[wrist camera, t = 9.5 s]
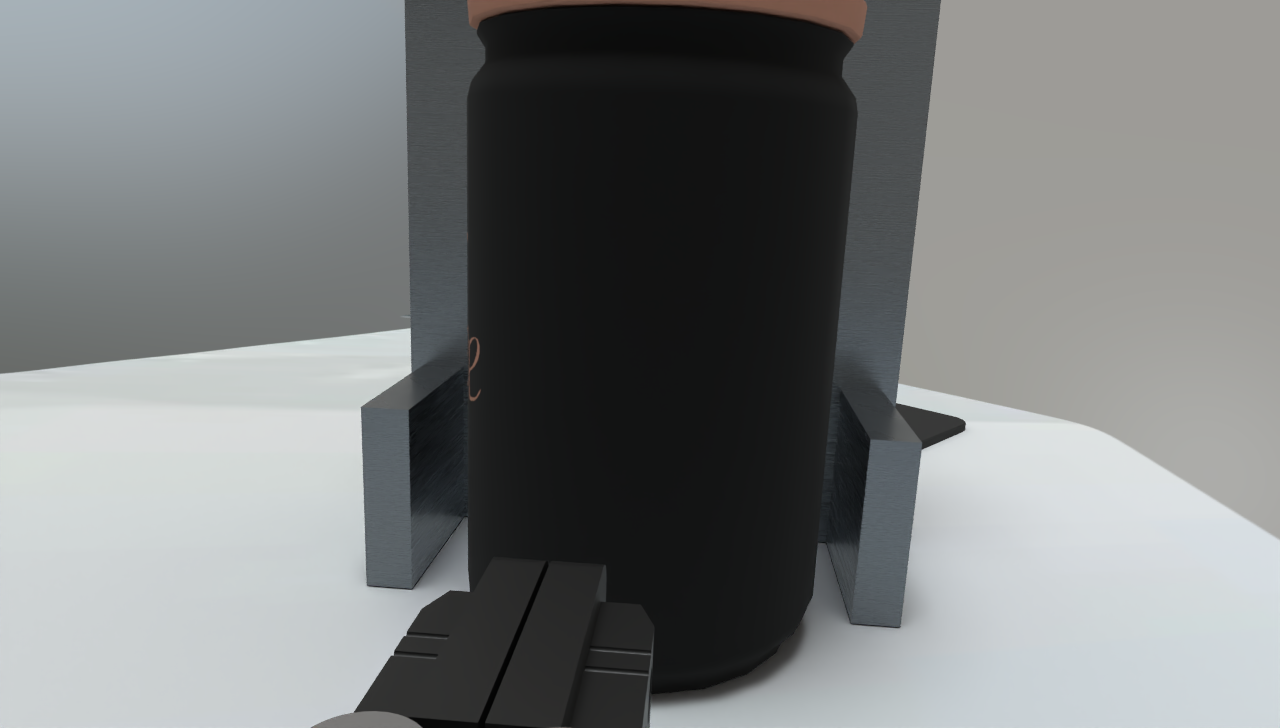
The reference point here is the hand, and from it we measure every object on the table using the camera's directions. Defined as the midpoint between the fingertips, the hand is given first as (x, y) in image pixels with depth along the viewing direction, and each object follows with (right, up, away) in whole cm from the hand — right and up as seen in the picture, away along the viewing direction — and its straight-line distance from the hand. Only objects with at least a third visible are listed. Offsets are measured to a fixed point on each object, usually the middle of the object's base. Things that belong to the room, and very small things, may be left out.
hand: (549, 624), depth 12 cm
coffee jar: (+1, -4, +16) cm, 16 cm away
